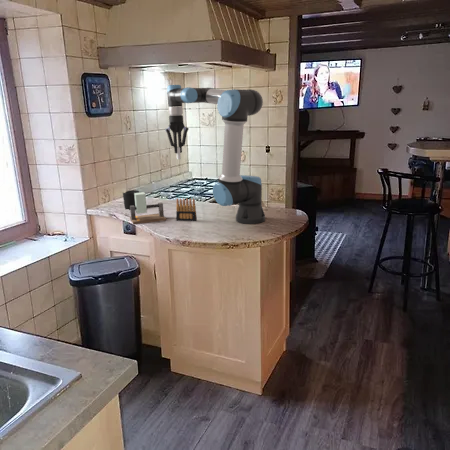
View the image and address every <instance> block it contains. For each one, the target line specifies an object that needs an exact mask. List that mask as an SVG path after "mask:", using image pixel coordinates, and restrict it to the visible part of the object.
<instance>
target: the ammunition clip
mask: <svg viewBox="0 0 450 450" xmlns="http://www.w3.org/2000/svg"><path fill="white" fill-rule="evenodd" d="M175 207H176V212H175V214H176V216H175V217H176V222H178V221H180V222H197V220H198V219H197V210H196V209H197V207H196V201H195V197H194V198H189V199H188V198H186V199H185V198H184V197H183V199H182V198H181V197H180V198H178V197H177V198H176V206H175Z"/></svg>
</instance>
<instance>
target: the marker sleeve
mask: <svg viewBox="0 0 450 450" xmlns="http://www.w3.org/2000/svg"><path fill="white" fill-rule="evenodd" d="M134 196H135V207H137V210H135V213H136V214H145V213H148V210H147V209H148V208H147V207H146V205H147V197H146V196H147V195H146V193H145V192H144V191H143V192H139V193H134Z"/></svg>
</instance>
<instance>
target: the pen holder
mask: <svg viewBox="0 0 450 450" xmlns="http://www.w3.org/2000/svg"><path fill="white" fill-rule="evenodd" d="M134 193H140V190H138V189H137V190H135V189H133V190H127V191H125V192H122V198H123V204H124V205H123V206H124V209H125V210H126V209H129V211H130V206H133V205H134V206H135V196H134Z"/></svg>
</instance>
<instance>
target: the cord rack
mask: <svg viewBox="0 0 450 450" xmlns="http://www.w3.org/2000/svg"><path fill="white" fill-rule="evenodd" d="M146 207H147V209H153V208H158V213H152V214H142V215H136V210H137V207H135V206H134V205H133V206H130V210H129V211H130V216H129V219H130V221H131V222H132V224H133V225H138V224H147V223H155V222H163V221H167V218H166V217H165V213H164V203H163V202H157V203H156V204H146Z"/></svg>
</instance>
